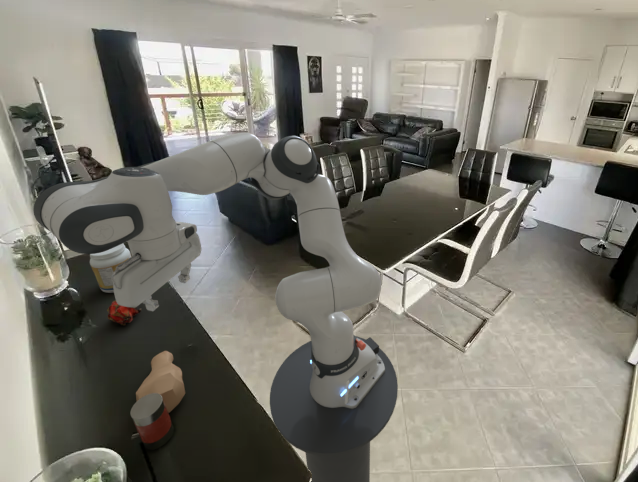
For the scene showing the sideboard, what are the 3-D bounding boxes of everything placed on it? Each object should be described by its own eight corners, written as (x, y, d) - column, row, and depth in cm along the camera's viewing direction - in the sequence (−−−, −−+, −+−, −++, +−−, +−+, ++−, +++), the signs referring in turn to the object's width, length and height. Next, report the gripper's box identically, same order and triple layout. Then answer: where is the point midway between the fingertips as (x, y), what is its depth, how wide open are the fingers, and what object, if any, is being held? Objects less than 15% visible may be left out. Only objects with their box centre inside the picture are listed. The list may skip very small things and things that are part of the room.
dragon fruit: (126, 311, 116) (135, 333, 109) (98, 310, 109) (105, 334, 102) (138, 291, 116) (147, 311, 109) (111, 289, 109) (118, 311, 102)
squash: (143, 434, 77) (124, 410, 73) (145, 379, 93) (130, 357, 90) (191, 405, 82) (176, 380, 78) (185, 357, 98) (172, 335, 94)
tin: (170, 417, 80) (159, 387, 76) (176, 436, 76) (165, 406, 72) (141, 434, 77) (128, 404, 72) (146, 456, 73) (132, 425, 68)
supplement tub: (105, 279, 130) (91, 243, 123) (141, 272, 135) (129, 237, 128) (96, 298, 120) (80, 260, 113) (135, 289, 125) (122, 252, 118)
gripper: (124, 274, 57) (144, 331, 63) (201, 221, 76) (211, 269, 81) (94, 268, 58) (116, 325, 64) (177, 218, 77) (188, 266, 82)
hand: (170, 294), depth 73 cm, fingers open, 8 cm apart
